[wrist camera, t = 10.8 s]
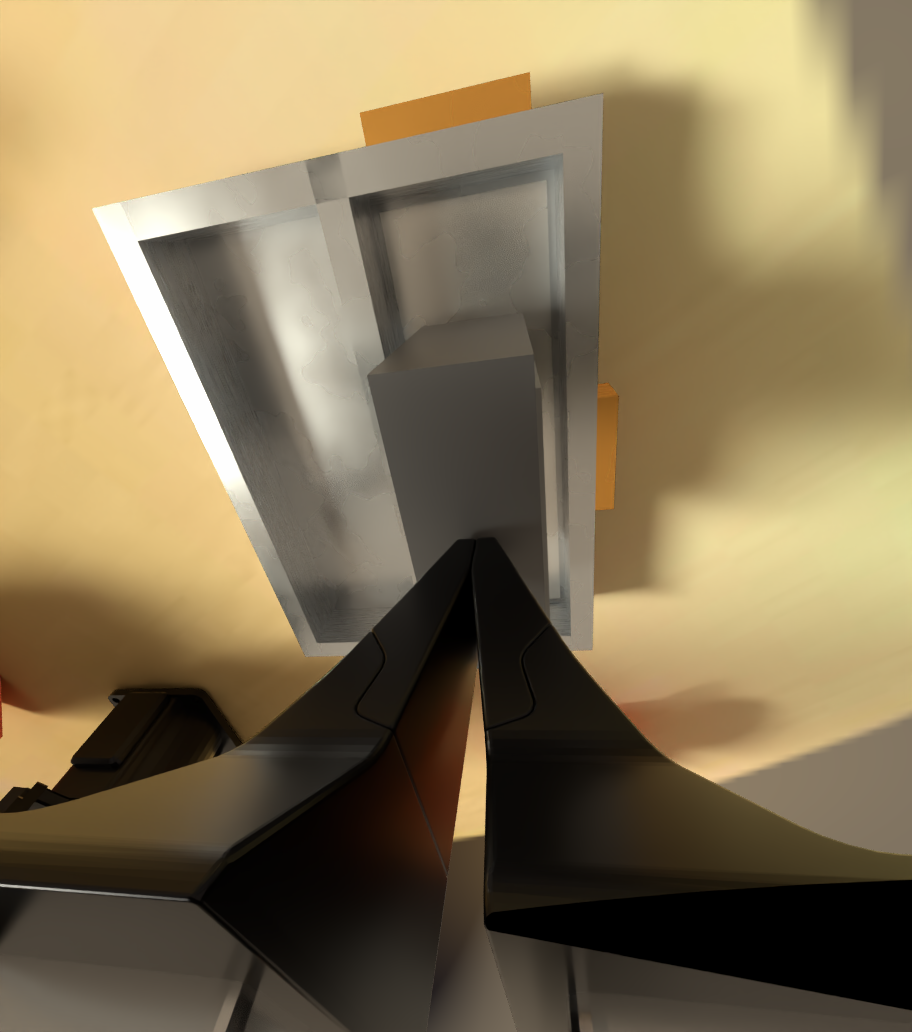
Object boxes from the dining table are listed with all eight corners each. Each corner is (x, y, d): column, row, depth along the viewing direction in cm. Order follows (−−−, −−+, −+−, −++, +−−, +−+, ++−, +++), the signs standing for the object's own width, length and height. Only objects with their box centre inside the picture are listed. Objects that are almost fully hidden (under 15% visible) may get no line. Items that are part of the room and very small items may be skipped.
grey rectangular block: (539, 539, 16) (554, 667, 11) (458, 544, 17) (437, 669, 12) (527, 311, 12) (542, 353, 7) (421, 326, 13) (366, 375, 8)
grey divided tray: (594, 596, 19) (608, 649, 16) (329, 607, 21) (305, 656, 19) (606, 92, 11) (637, 43, 8) (163, 192, 13) (77, 177, 10)
